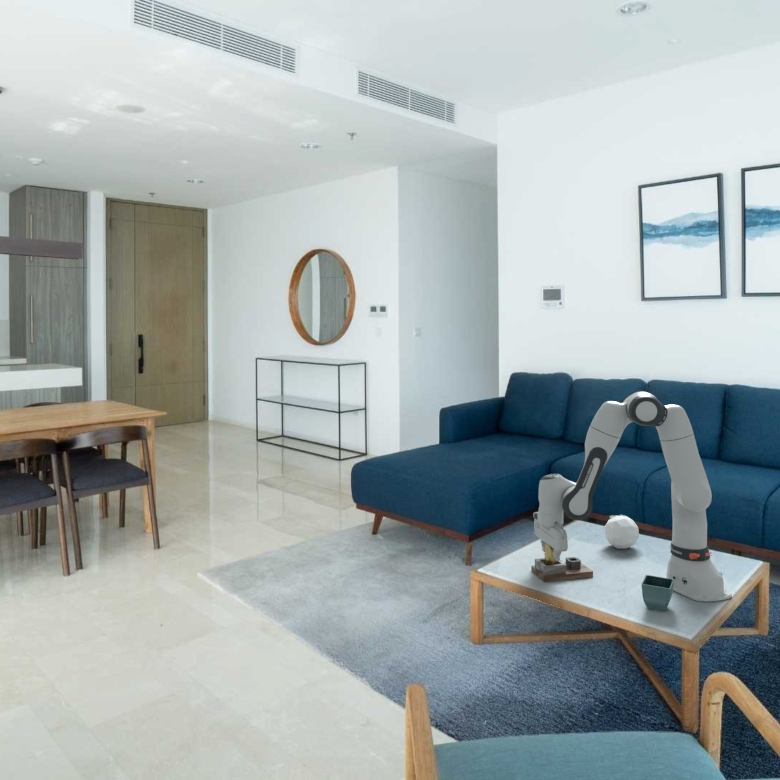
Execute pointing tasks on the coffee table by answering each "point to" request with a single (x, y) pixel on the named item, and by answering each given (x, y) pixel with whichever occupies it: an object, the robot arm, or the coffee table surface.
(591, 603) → the coffee table surface
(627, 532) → the geodesic sphere
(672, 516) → the robot arm
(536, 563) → the board
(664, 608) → the flower pot
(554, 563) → the brass cylinder rod
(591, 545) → the coffee table surface
